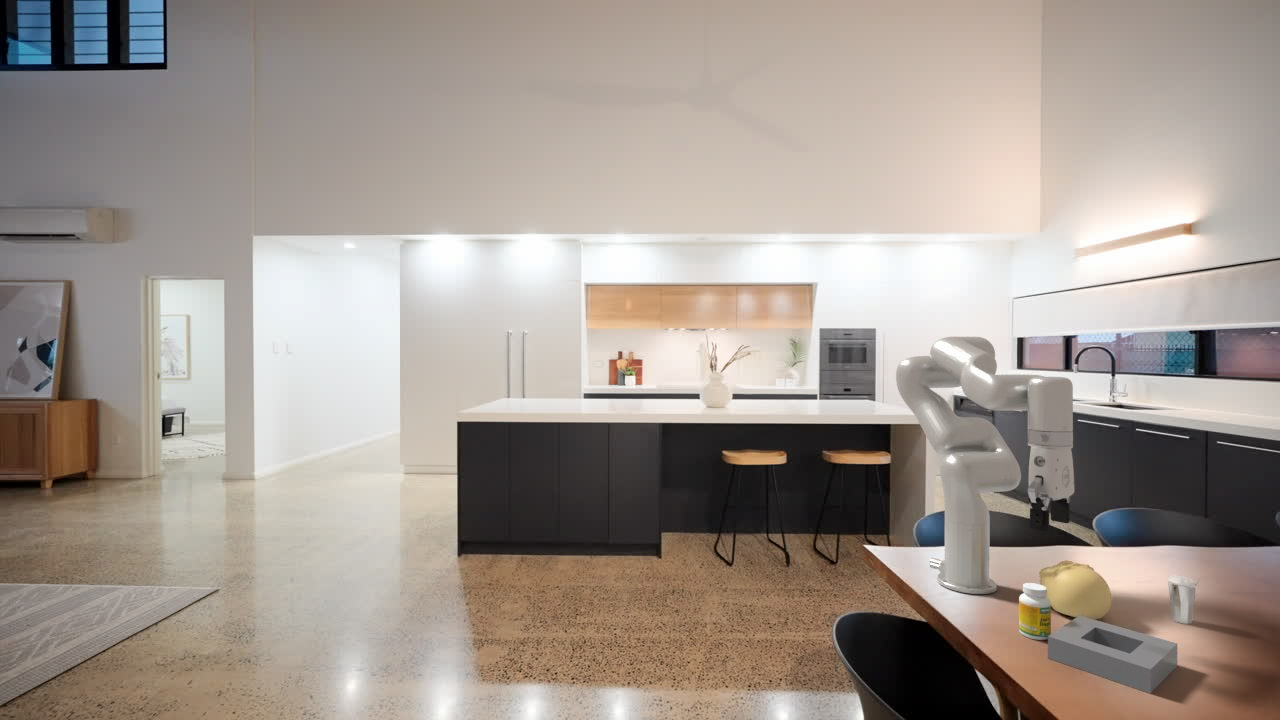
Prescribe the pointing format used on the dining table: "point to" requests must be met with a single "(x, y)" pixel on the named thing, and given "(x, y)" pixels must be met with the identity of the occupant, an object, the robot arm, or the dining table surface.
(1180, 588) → the milkshake
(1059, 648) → the socket block
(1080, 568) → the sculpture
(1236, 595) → the dining table surface
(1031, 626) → the supplement bottle
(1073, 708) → the dining table surface
